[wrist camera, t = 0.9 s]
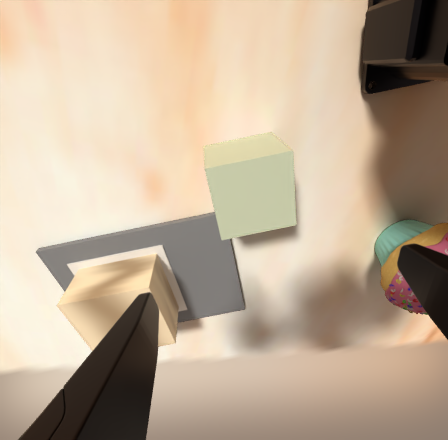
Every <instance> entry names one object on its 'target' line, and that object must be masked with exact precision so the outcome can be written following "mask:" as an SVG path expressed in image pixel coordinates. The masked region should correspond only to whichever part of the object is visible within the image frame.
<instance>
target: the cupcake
mask: <svg viewBox="0 0 448 440" xmlns="http://www.w3.org/2000/svg"><path fill="white" fill-rule="evenodd" d="M412 243H416V244H419V245H422V246H424V247H427V248H430V249H432V250H435V251H438V252H440V253H443V254H446V255H448V223H440V224H437V225H435V226H433V225H429V224H426V223H422V222H419V221H416V220H403V221H400V222H397V223H395V224H393V225H391V226H389V227H388V228H387V229H385V230H384V231H383V232H382V233H381V234H380V236H379V237H378V239H377V241H376V244H375V252H376V255H377V257H378V259H379V261H380V264H381V267H382V268H381V277H382V279H381V286H382V288H383V289H384V291H385V296H386V298H387V299H388V300H389V301H390V302H391V303H393V305H396V306H399V307H401V308H403V309H405V310H408V311H409V312H410V311H411V312H410V313H413V312H415V313H416V314H418V313H420V314H426V315H428V314H427V313H426V311H425V310H424V308H423V307H422V306H421V304H420V303H419V301H418V300H417V298H416V296H415V295H414V293H413V292H412V290H411V288H410V287H409V285H408V284H407V282H406V280H405V279H404V277H403V276H402V274H401V273H400V271H399V269H398V267H397V260H398V256H399V252H400V248H401V247H402V246H403V245H407V244H412Z"/></svg>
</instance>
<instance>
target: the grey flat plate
mask: <svg viewBox="0 0 448 440" xmlns="http://www.w3.org/2000/svg"><path fill="white" fill-rule="evenodd" d="M36 253H37V254H38V256H39V257H40V258H41V260H42V261H43V263H44V264H45V265H46V267H47V268H48V269H49V271H50V272H51V273H52V275H53V276H54V278H55V279H56V280H57V282H58V283H59V284H60V286H61V287H62V288H63V290H64V291H66V289H67V288H68V286H69V284H70V283H71V281H72V279H73V278H74V276H75V274H76V273H77V271H78V270H79V269H82V268H87V267H92V266H97V265H102V264H107V263H112V262H117V261H121V260H126V259H131V258H136V257H141V256H146V255H151V254H156V253H157V255H158V258H159V260H160V263H161V265H162V267H163V270H164V272H165V275H166V277H167V280H168V282H169V284H170V287H171V289H172V292H173V294H174V296H175V299H176V301H177V304H178V306H179V310H178V321H177V323H179V322H184V321H189V320H194V319H199V318H204V317H209V316H214V315H219V314H224V313H229V312H234V311H240V310H245V307H244V302H243V297H242V293H241V288H240V283H239V278H238V274H237V269H236V264H235V260H234V255H233V250H232V245H231V241H230V239H226V240H221V236H220V232H219V227H218V223H217V219H216V215H215V212H213V213H208V214H203V215H199V216H194V217H189V218H184V219H179V220H174V221H169V222H164V223H160V224H155V225H150V226H145V227H140V228H135V229H130V230H126V231H121V232H116V233H111V234H106V235H101V236H96V237H91V238H87V239H82V240H77V241H72V242H67V243H62V244H57V245H53V246H48V247H43V248H39V249H38V250H37V251H36Z"/></svg>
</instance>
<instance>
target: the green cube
mask: <svg viewBox="0 0 448 440" xmlns="http://www.w3.org/2000/svg"><path fill="white" fill-rule="evenodd" d="M203 148H204V165H205V172H206V176H207V181H208V185H209V189H210V193H211V198H212V202H213V206H214V210H215V215H216V219H217V223H218V227H219V232H220V236H221V240H226V239H231V238H236V237H241V236H246V235H251V234H256V233H261V232H266V231H270V230H275V229H280V228H285V227H290V226H295V225H296V205H295V181H294V157H293V150H292V149H291V148H290V147H289V146H287V145H286V144H285V143H284V142H283V141H282V140H280V139H279V138H278V137H277V136H276V135H274V134H273V133H272V132H268V133H263V134H259V135H254V136H249V137H244V138H240V139H235V140H230V141H225V142H221V143H216V144H211V145H207V146H203Z"/></svg>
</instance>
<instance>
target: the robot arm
mask: <svg viewBox="0 0 448 440" xmlns="http://www.w3.org/2000/svg"><path fill="white" fill-rule="evenodd" d="M362 61H363V62H364V66H363V77H362V91H363V92H364V93H367V94H373V93H378V92H382V91H387V90H392V89H396V88H401V87H406V86H411V85H415V84H420V83H425V82H429V81H434V80H440V81H448V0H369V9H368V11H367V12H366V19H365V31H364V43H363V54H362ZM371 82H373V85H372V87H371V88H370V89H369V84H370V83H371ZM397 267H398V269H399V271H400V273H401V274H402V276H403V277H404V279H405V280H406V282H407V284H408V285H409V287H410V288H411V290H412V292H413V293H414V295H415V296H416V298H417V300H418V301H419V303H420V304H421V306H422V307H423V308H424V310H425V311H426V313H427V314H428V315H429V316H430V318H431V319H432V320H433V322H434V323H435V324H436V325H437V327H438V328H439V329H440V331H441V332H442V333H443V334H444V336H445V337H446V338H447V340H448V255H446V254H443V253H440V252H438V251H435V250H432V249H430V248H427V247H424V246H422V245H419V244H416V243H412V244H407V245H403V246H402V247H401V248H400V252H399V256H398V260H397ZM158 334H159V308H158V305H157V303H156V301H155V299H154V297H153V295H152V293H151V292H147V293H141V294H139V295H138V296H137V297H136V298H135V300H134V301H133V302H132V303H131V304H130V306H129V307H128V308H127V309H126V311H125V312H124V313H123V314H122V315H121V317H120V318H119V319H118V320H117V322H116V323H115V324H114V325H113V327H112V328H111V329H110V330H109V331H108V333H107V334H106V335H105V336H104V338H103V339H102V340H101V341H100V342H99V344H98V345H97V346H96V347H95V349H94V350H93V351H92V352H91V353H90V355H89V356H88V357H87V358H86V360H85V361H84V362H83V363H82V364H81V366H80V367H79V368H78V369H77V371H76V372H75V373H74V374H73V376H72V377H71V378H70V379H69V380H68V382H67V383H66V384H65V385H64V389H61V390H60V391H59V393H58V394H57V395H56V396H55V398H54V399H53V400H52V401H51V402H50V403H49V405H48V406H47V407H46V408H45V409H44V411H43V412H42V413H41V414H40V416H39V417H38V418H37V419H36V420H35V421H34V422H33V424H32V425H31V426H30V427H29V428H28V429H27V430H26V432H25V433H24V434H23V435H22V436H21V437H20V438H19V439H18V440H146V434H147V428H148V421H149V413H150V406H151V399H152V392H153V385H154V378H155V371H156V364H157V356H158Z"/></svg>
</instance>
